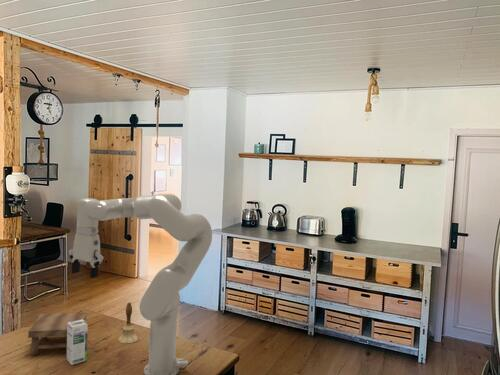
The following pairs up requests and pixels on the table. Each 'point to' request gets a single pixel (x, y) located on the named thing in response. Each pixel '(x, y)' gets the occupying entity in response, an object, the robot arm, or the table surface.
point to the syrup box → (77, 341)
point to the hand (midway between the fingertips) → (84, 274)
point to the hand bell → (128, 329)
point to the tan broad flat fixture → (51, 329)
